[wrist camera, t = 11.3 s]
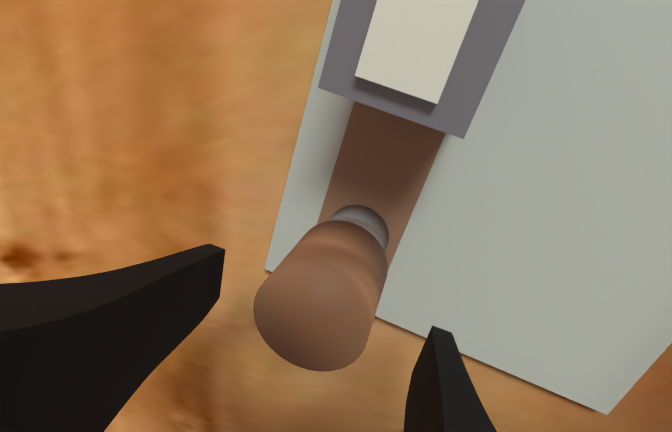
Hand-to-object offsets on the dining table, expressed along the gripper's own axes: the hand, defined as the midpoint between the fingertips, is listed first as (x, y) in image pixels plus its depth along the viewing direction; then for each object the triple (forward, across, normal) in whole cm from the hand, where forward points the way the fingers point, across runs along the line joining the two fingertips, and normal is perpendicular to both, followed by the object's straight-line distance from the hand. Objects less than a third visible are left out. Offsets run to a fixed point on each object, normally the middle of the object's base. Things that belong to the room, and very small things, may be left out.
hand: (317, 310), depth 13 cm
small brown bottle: (+6, 0, 0) cm, 6 cm away
